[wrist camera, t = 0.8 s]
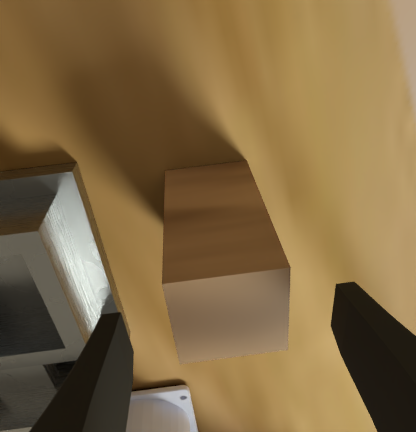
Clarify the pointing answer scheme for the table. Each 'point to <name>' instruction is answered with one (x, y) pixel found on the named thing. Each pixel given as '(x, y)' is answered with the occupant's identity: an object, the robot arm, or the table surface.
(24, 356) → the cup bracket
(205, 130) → the table surface
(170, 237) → the brown rectangular block
